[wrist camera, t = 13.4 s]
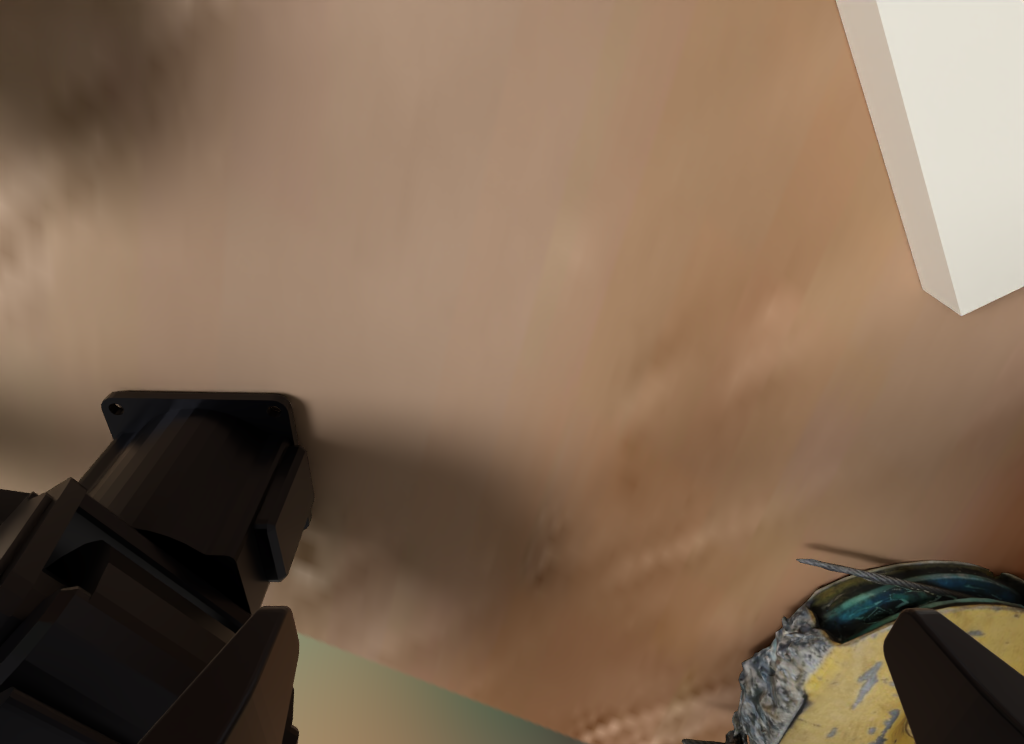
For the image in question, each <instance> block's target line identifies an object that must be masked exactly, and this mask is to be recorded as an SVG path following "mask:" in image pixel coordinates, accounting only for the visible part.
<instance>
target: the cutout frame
mask: <svg viewBox="0 0 1024 744" xmlns="http://www.w3.org/2000/svg"><path fill="white" fill-rule="evenodd" d="M836 3H837V6H838V9H839V13H840V16H841V19H842V23H843V26H844V29H845V33H846V36H847V39H848V43H849V46H850V49H851V52H852V56H853V59H854V62H855V66H856V69H857V72H858V76H859V79H860V82H861V86H862V89H863V92H864V96H865V99H866V102H867V106H868V109H869V112H870V116H871V119H872V122H873V126H874V129H875V132H876V136H877V139H878V142H879V146H880V149H881V152H882V156H883V159H884V162H885V166H886V169H887V172H888V175H889V179H890V182H891V185H892V189H893V192H894V195H895V199H896V202H897V205H898V209H899V212H900V215H901V219H902V222H903V225H904V229H905V232H906V235H907V239H908V242H909V245H910V249H911V252H912V255H913V259H914V262H915V265H916V269H917V272H918V275H919V279H920V282H921V285H922V289H923V290H924V291H926V292H927V293H929V294H930V295H931V296H933V297H934V298H936V299H937V300H939V301H940V302H942V303H943V304H944V305H946V306H947V307H949V308H950V309H952V310H953V311H955V312H956V313H957V314H959V315H960V316H963V315H965V314H967V313H969V312H971V311H973V310H975V309H977V308H980V307H982V306H984V305H986V304H988V303H990V302H992V301H994V300H996V299H998V298H1000V297H1003V296H1005V295H1007V294H1009V293H1011V292H1013V291H1015V290H1017V289H1019V288H1021V287H1024V0H836Z"/></svg>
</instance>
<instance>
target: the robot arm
mask: <svg viewBox="0 0 1024 744" xmlns="http://www.w3.org/2000/svg"><path fill="white" fill-rule="evenodd" d="M116 404H119V405H120V406H122V408H119V407H118V406H117V405H116ZM271 406H275V407H278V408H279V409H280V410H281V411H275V410H273V409H272V408H271ZM101 407H102V411H103V414H104V416H105V419H106V421H107V424H108V427H109V429H110V432H111V434H112V437H113V441H112V443H111V444H110V445H109V446H108V447H107V448H106V450H105V451H104V452H103V453H102V454H101V456H100V457H99V458H98V459H97V460H96V461H95V463H94V464H93V465H92V466H91V467H90V469H89V470H88V471H87V472H86V473H85V475H84V476H83V477H82V478H81V479H80V480H79V482H77V481H76V480H74V479H73V478H72V477H70V478H68V479H67V480H65V481H63V482H62V483H60V484H59V485H57V486H55V487H54V488H52V489H50V490H49V491H47V492H45V493H43V494H41V495H38V494H36V493H35V492H31V493H24V492H17V491H10V490H3V489H0V744H298V736H299V731H298V729H297V728H296V727H295V726H293V725H292V720H293V702H294V688H293V682H294V677H295V672H296V667H297V661H298V656H299V639H298V635H297V631H296V626H295V622H294V618H293V613H292V611H291V609H290V608H289V607H287V606H264V607H261V605H262V602H263V599H264V597H265V594H266V591H267V589H268V586H269V583H270V582H281V581H282V580H283V579H284V578H285V577H286V576H287V575H288V572H289V570H290V567H291V564H292V561H293V558H294V555H295V552H296V549H297V547H298V544H299V541H300V538H301V535H302V532H303V530H304V529H306V528H307V527H308V526H309V523H310V521H311V516H312V515H311V507H312V504H313V501H314V491H313V486H312V480H311V474H310V469H309V463H308V457H307V452H306V450H305V449H304V448H303V447H302V446H301V445H299V444H298V439H297V433H296V428H295V423H294V417H293V412H292V406H291V404H290V401H289V400H288V399H287V398H286V397H284V396H282V395H278V394H241V393H183V392H124V391H117V392H112V393H111V394H109V395H108V396H107V397H106V398H105V399H104V400H103V402H102V404H101ZM260 607H261V608H260ZM883 652H884V657H885V660H886V663H887V666H888V669H889V672H890V674H891V677H892V680H893V683H894V685H895V688H896V691H897V694H898V696H899V699H900V702H901V705H902V708H903V710H904V713H905V716H906V719H907V721H908V724H909V727H910V730H911V732H912V735H913V738H914V741H915V744H1024V676H1023V675H1022V674H1020V673H1019V672H1018V671H1016V670H1015V669H1014V668H1012V667H1011V666H1010V665H1008V664H1007V663H1006V662H1004V661H1003V660H1002V659H1000V658H999V657H998V656H997V655H995V654H994V653H993V652H991V651H990V650H989V649H987V648H986V647H985V646H983V645H982V644H981V643H979V642H978V641H977V640H975V639H974V638H973V637H971V636H970V635H969V634H967V633H966V632H965V631H964V630H962V629H961V628H960V627H958V626H957V625H956V624H954V623H953V622H952V621H950V620H949V619H948V618H946V617H945V616H944V615H942V614H941V613H939V612H938V611H936V610H933V609H929V608H907V609H904V610H903V611H902V612H901V613H900V614H899V616H898V617H897V619H896V621H895V622H894V624H893V626H892V628H891V629H890V631H889V633H888V634H887V636H886V638H885V640H884V644H883Z"/></svg>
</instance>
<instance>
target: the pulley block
mask: <svg viewBox="0 0 1024 744" xmlns="http://www.w3.org/2000/svg"><path fill="white" fill-rule="evenodd" d="M796 560H798V561H799V562H800V563H805V564H809V565H814V566H818V567H822V568H824V569H827V570H830V571H836V572H841V573H847V574H851V576H848V577H845V578H843V579H840V580H838V581H836V582H834V583H831V584H829V585H827V586H824V587H822V588H820V589H817V590H816V591H815V592H814V593H813V595H812V596H811V597H810V598H809V599H808V601H807V602H806V603H804V604H803V605H802V606H801V607H800V608H799V609H798V610H797V611H796V612H795V613H794V614H793V615H792V616H791V617H790V618H789V619H787V618H786V617H785V616H784V617H783V618H782V624H783V628H781V629H780V630H779V631H777V632H776V637H775V639H774V641H773V642H772V644H771V646H769V647H767V648H765V649H762V650H761V651H760V652H758V653H755V654H754V656H753V657H751V658H750V659H748V660H745V661H744V662H743V663H742V667H743V671H742V672H741V674H740V677H739V683H740V686H741V690H742V691H741V696H740V704H739V708H738V711H736V712H735V713H734V715H733V718H732V723H733V725H734V730H733V731H729V732H728V733H727V734H726V742H725V743H721V742H714V741H701V740H692V739H683V740H682V742H683V744H748V742H747V735H748V736H749V742H750V744H915V741H914V738H913V735H912V732H911V730H910V727H909V724H908V721H907V719H906V716H905V713H904V710H903V708H902V705H901V702H900V699H899V696H898V694H897V691H896V688H895V685H894V683H893V680H892V677H891V674H890V672H889V669H888V666H887V663H886V660H885V657H884V652H883V644H884V640H885V638H886V636H887V634H888V633H889V631H890V629H891V628H892V626H893V624H894V622H895V621H896V619H897V617H898V616H899V614H900V613H901V612H902V611H903V610H904V609H907V608H929V609H933V610H936V611H938V612H939V613H941V614H942V615H944V616H945V617H946V618H948V619H949V620H950V621H952V622H953V623H954V624H956V625H957V626H958V627H960V628H961V629H962V630H964V631H965V632H966V633H967V634H969V635H970V636H971V637H973V638H974V639H975V640H977V641H978V642H979V643H981V644H982V645H983V646H985V647H986V648H987V649H989V650H990V651H991V652H993V653H994V654H995V655H997V656H998V657H999V658H1000V659H1002V660H1003V661H1004V662H1006V663H1007V664H1008V665H1010V666H1011V667H1012V668H1014V669H1015V670H1016V671H1018V672H1019V673H1020V674H1022V675H1023V676H1024V580H1023V579H1021V578H1019V577H1017V576H1015V575H1012V574H1009V573H1001V575H1000V576H997V577H994V576H993V573H992V572H989V570H988V569H986V568H983V567H980V566H977V565H974V564H970V563H965V562H959V561H934V560H930V561H916V562H907V563H899V564H893V565H889V566H884V567H880V568H876V569H871V570H867V571H863V570H859V569H854V568H850V567H845V566H841V565H836V564H831V563H825V562H821V561H817V560H814V559H796Z"/></svg>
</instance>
